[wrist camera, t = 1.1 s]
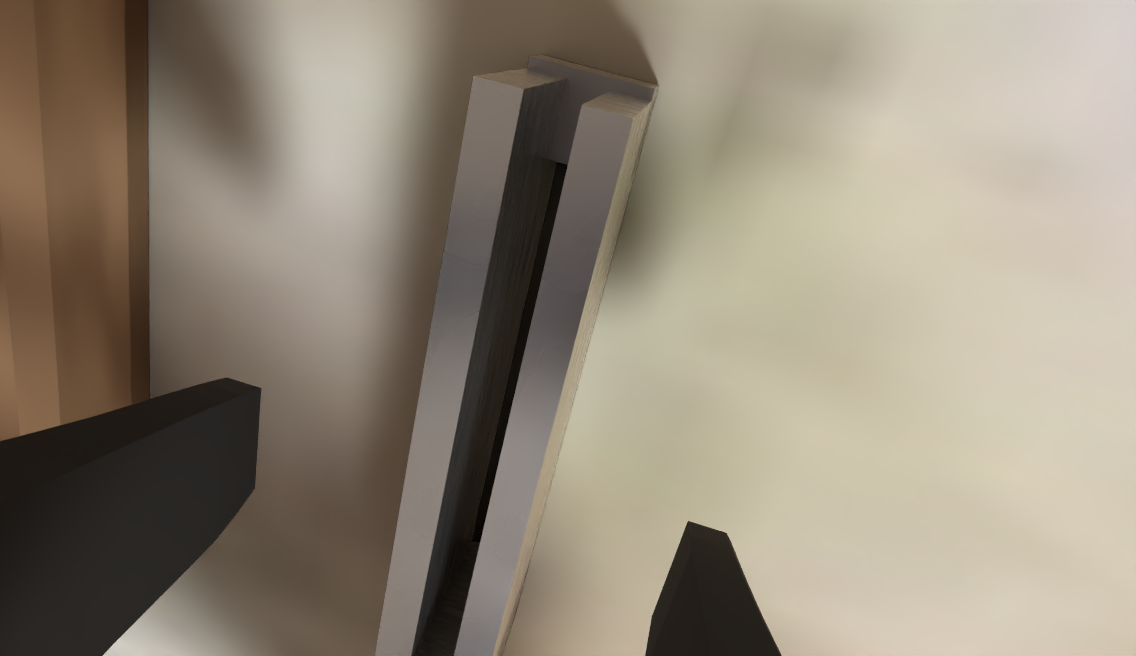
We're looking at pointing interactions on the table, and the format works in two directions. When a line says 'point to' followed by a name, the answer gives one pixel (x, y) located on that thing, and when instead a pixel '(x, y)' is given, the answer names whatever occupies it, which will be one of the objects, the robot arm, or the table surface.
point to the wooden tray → (72, 211)
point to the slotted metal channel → (507, 344)
